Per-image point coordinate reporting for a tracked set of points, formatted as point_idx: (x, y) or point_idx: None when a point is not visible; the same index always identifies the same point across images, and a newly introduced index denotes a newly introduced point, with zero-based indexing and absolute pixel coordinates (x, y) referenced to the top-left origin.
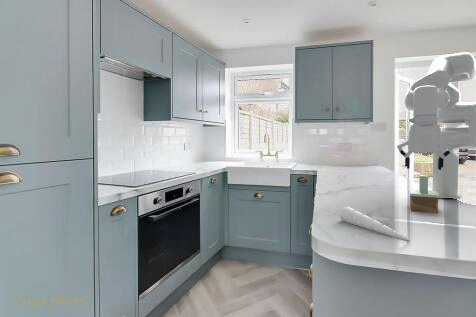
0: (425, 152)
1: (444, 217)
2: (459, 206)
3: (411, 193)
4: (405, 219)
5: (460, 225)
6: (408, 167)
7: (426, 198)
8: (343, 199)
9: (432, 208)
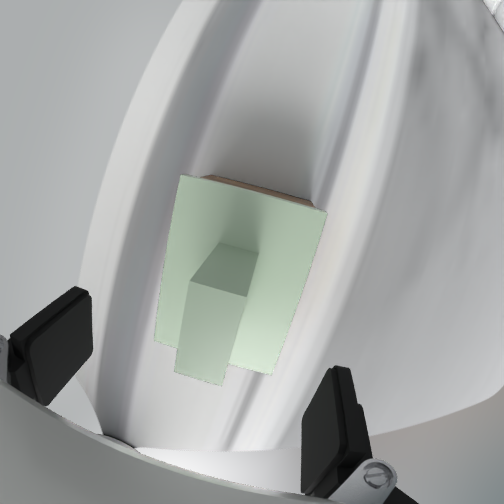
0: (121, 448)
1: (201, 132)
2: (97, 349)
3: (320, 216)
4: (371, 68)
5: (201, 19)
6: (340, 371)
7: None
8: (455, 404)
9: (225, 181)
